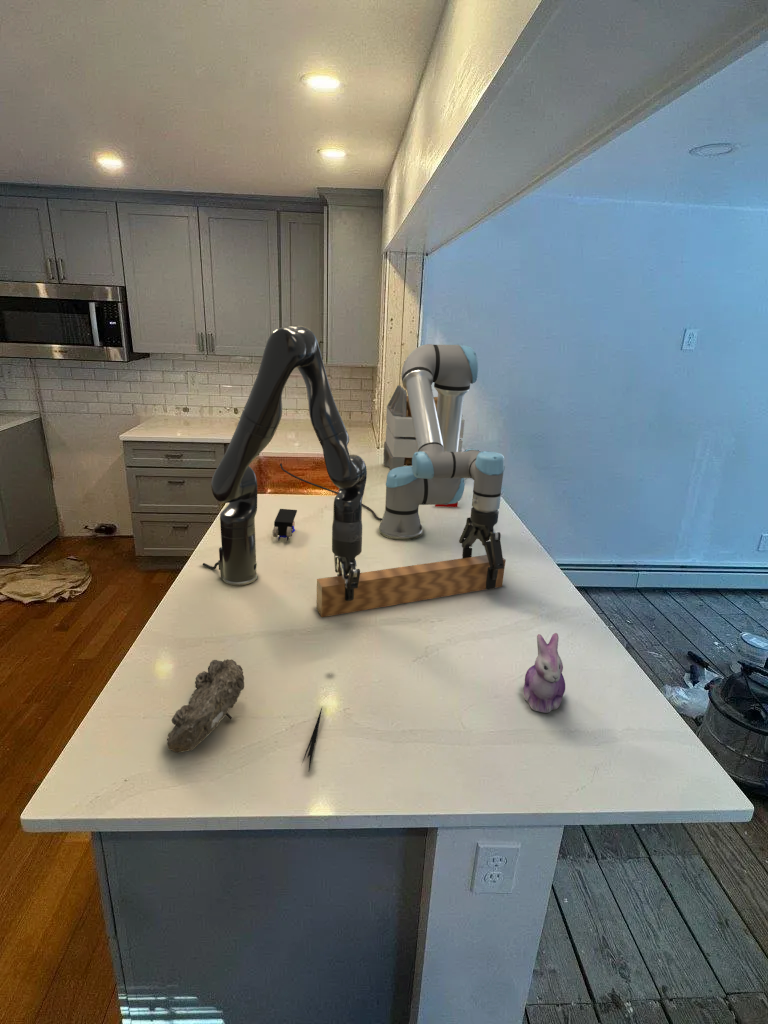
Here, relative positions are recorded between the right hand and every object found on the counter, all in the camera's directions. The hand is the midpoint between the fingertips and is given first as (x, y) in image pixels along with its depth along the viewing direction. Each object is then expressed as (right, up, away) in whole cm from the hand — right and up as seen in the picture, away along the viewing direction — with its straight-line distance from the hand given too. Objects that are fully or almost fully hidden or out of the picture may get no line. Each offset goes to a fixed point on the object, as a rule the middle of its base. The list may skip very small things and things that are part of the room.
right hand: (477, 578), depth 163 cm
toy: (-2, +26, +79) cm, 83 cm away
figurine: (+6, -20, -46) cm, 50 cm away
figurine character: (-61, +11, +31) cm, 69 cm away
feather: (-39, -21, -54) cm, 70 cm away
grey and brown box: (-10, +38, +112) cm, 119 cm away
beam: (-19, -4, -6) cm, 20 cm away
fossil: (-60, -20, -55) cm, 84 cm away
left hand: (-37, -3, -15) cm, 40 cm away
